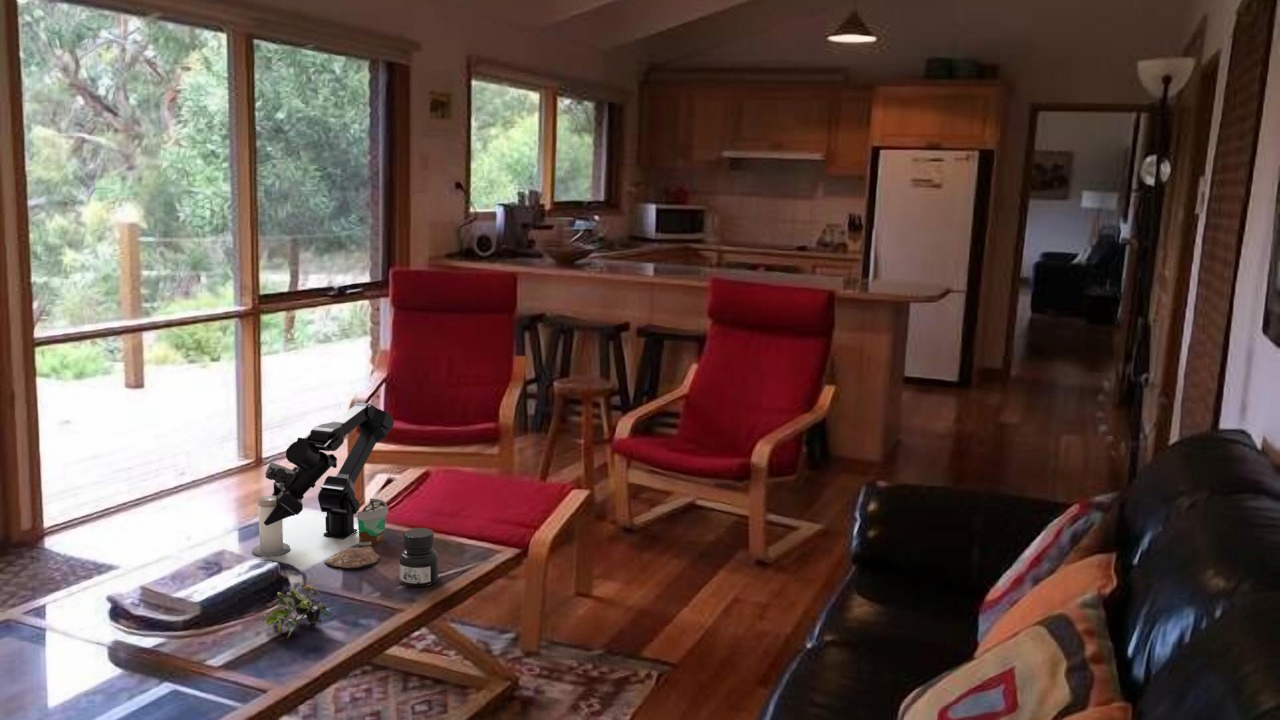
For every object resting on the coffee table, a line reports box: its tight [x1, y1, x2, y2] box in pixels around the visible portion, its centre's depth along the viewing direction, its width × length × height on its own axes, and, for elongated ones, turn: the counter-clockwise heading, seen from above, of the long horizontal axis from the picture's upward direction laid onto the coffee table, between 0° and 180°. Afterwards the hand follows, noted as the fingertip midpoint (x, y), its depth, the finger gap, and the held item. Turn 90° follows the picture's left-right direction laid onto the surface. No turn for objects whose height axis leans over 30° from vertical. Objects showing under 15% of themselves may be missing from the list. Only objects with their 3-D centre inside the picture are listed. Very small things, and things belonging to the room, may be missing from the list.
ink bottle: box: [399, 527, 439, 588], centre depth 244 cm, size 10×9×12 cm
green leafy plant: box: [261, 584, 334, 639], centre depth 216 cm, size 11×11×12 cm
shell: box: [324, 546, 380, 571], centre depth 255 cm, size 12×13×4 cm
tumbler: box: [257, 495, 284, 552], centre depth 260 cm, size 6×6×13 cm
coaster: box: [251, 542, 291, 558], centre depth 261 cm, size 9×9×1 cm
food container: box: [356, 497, 390, 548], centre depth 268 cm, size 12×6×10 cm, turn 179°
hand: (264, 518), depth 259 cm, fingers open, 9 cm apart
